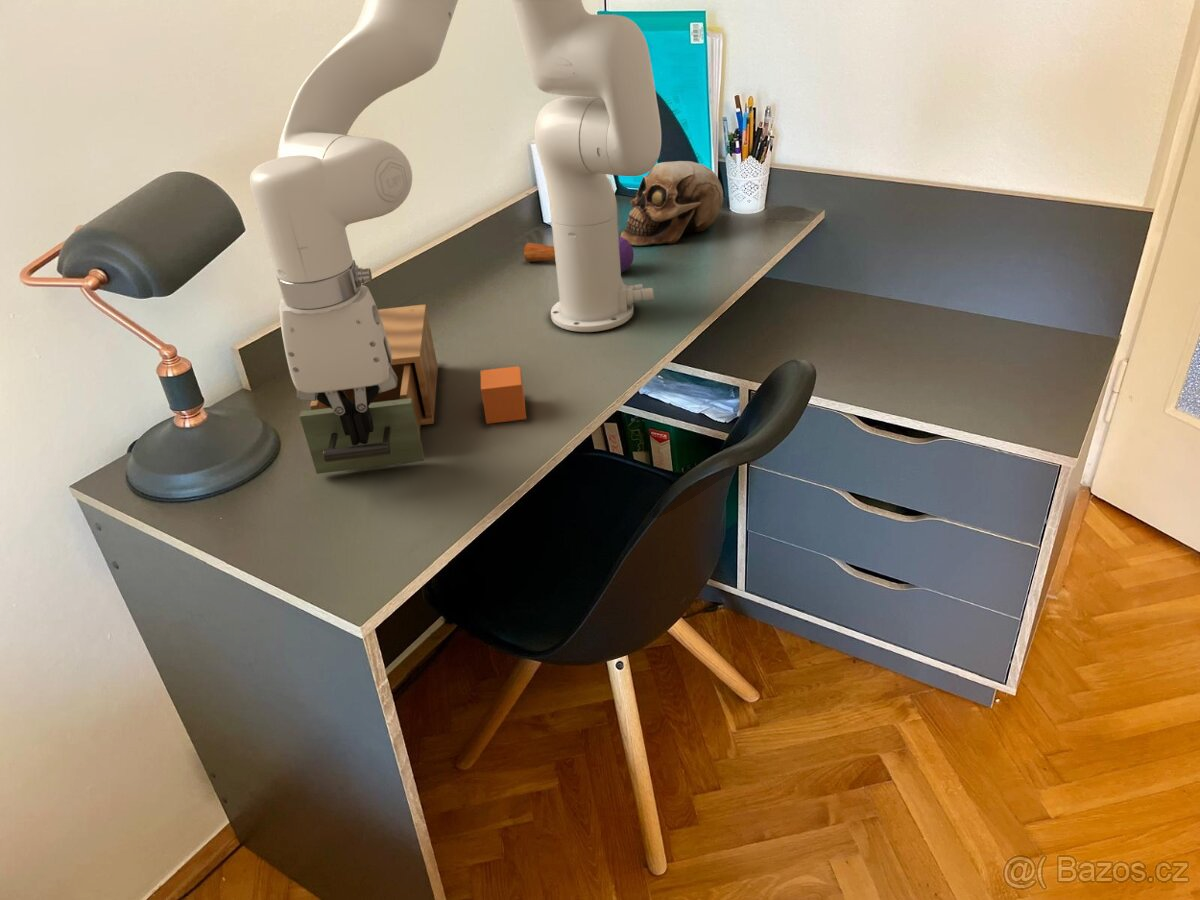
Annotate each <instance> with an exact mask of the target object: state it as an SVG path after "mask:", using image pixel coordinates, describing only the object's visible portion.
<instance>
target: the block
mask: <svg viewBox="0 0 1200 900" xmlns="http://www.w3.org/2000/svg"><path fill="white" fill-rule="evenodd" d="M480 392H481V398H482V404H483V411H484V417H485V423H486V424H487V425H489V424H490V425H491V424H497V423H506V422H513V421H521V420H527V412H526V411H527V410H526V400H525V393H524V385H523V379H522V371H521V366H520V365H517V366H509V367H501V368H500V367H499V368H491V369H483V370H480Z"/></svg>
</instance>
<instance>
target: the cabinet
mask: <svg viewBox="0 0 1200 900" xmlns="http://www.w3.org/2000/svg"><path fill="white" fill-rule="evenodd" d="M378 312H379V314H380V317H381V320H382V323H383V326H384V329H385V333H386V336H387V339H388V342H389V346H390V350H391V354H392V364H390V365H397V364H406V363H414V362H415V368H416V373H417V377H418V382H419V387H420V392H421V397H422V401H423V406H422V416H421V426H425V425H433V424H434V422H435V411H436V409H435V408H436V398H437V397H436V395H437V383H438V369H439V365H438V359H437V356H436V350H435V346H434V345H435V344H434V340H433V335H432V330H431V324H430V319H429V314H428V308H427V304H426V303H425V304H416V305H409V306H408V305H407V306H398V307H390V308H380V309H378Z"/></svg>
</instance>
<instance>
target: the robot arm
mask: <svg viewBox="0 0 1200 900" xmlns="http://www.w3.org/2000/svg"><path fill="white" fill-rule="evenodd" d="M458 2H459V0H364V2H363V6H362V9H361V12H360V14H359V17H358V19H357V21H356V24H355V25H354V27H353V28H352V29H351V30H350V31H349V32H348V33H347V34H346V35H345V36H344V37H343V38H342V39H341V40H339V41H338V43H336V45H334V46H333V47H332V49H331V50H330V51H329V52H328V53H326V55H325V57H324V58H323V59H321V61H320V62H318V64H317V65H316V66H315V67H314V68H313V70H312V71H311V72H310V73H309V74H308V76H307V77H306V78H305V79H304V81H303V82H302V84H301V86H300V87H299V88H298V91H297V92H296V94H295V97H294V99H293V101H292V104H291V106H290V109H289V112H288V115H287V118H286V119H285V120H286V121H285V122H284V126H283V129H282V133H281V135H280V139H279V142H278V147H277V153H276V158H274V159H269V160H267V161H264V162H262V163H261V164H259V165H257V166H256V167H254V168H253V170H252V171H251V173H250V176H249V189H250V192H251V196H252V199H253V203H254V206H255V209H256V213H257V216H258V219H259V222H260V226H261V228H262V229H261V230H262V232H263V235H264V239H265V242H266V245H267V248H268V253H269V255H270V259H271V262H272V265H273V269H274V272H275V275H276V280H277V283H278V286H279V290H280V293H281V296H282V298H281V299H280V301H279V306H278V308H279V320H280V329H281V335H282V337H281V338H282V341H283V347H284V352H285V353H284V354H285V357H286V362H287V366H288V370H289V375H290V378H291V380H292V383H293V385H294V387H295V389H296V398H297V399H298V400H300V401H309V402H312V401H319V402H321V403H323V404H324V405H326V406H328V407H330V408H331V409H333V411H334V413H335V414H337V415H339V416H340V420H341V423H342V427H343V430H344V434H345V435H346V436H347V435H350V438H351V442H352V445H358V443H362V444H367V443H368V437H369V433H370V432H373V421H372V417H371V414H370V410H369V405H370V403H371V402H372V401H373V400H374V398H375V397H376V396H377V395H378V393H381V392H385V391H388V390H391V389H394V388H396V387H397V382H398V378H397V376H396V374H395V372H394V370H393V368H392V367H391V365H390V364H392V354H391V350H390V346H389V342H388V339H387V336H386V333H385V329H384V326H383V323H382V320H381V317H380V314H379V312H378V310H379V309H378V306H377V304H376V301H375V300H374V297H373V296H372V293H371V291H370V289H369V287H368V286H366V285H364V284H365V283H369V282H370V283H371V282H373V277H372V276H373V275H372V270H371V268H370V267H368V268H366V267H365V268H363V267H359V266H358V264H356V260H355V259H353V255H352V251H351V246H350V243H349V239H348V234H347V231H346V228H347V226H348V225H351V224H355V223H356V224H357V223H359V222H364V221H368V220H373V219H376V218H380V217H383V216H386V215H388V214H391V213H393V212H394V211H396V209H398V208H399V207H400V206H402V204H403V203H404V202H405V201H406V200H407V198H408V196H409V194H410V192H411V190H412V184H413V172H412V171H413V170H412V166H411V163H410V161H409V159H408V157H407V156H406V155H405V154H404V152H403V151H402V150H401V149H400V148H399V147H397V146H396V145H394V144H393V143H391V142H388V141H386V140H383V139H380V138H376V137H375V138H374V137H366V136H357V135H349V134H348V133H349V131H350V129H351V128H352V126H353V125H354V123H355V121H356V120H357V118H358V117H359V116H360V115H361V114H362V113H363V111H364V110H365V109H366V108H368V107H369V106H370V105H371V104H372V103H373V102H375V101H376V100H378V99H380V98H381V97H383V96H384V95H386V94H388V93H390V92H392V91H395V90H397V89H398V88H401V87H403V86H405V85H407V84H409V83H411V82H413V81H414V80H417V79H418V78H420V77H421V76H424V75H425V74H427V73H429V71H431V70H432V69H433V68H434V67H435V66H436V65H437V63H438V61H439V59H440V55H441V52H442V49H443V46H444V43H445V41H446V37H447V34H448V32H449V29H450V25H451V24H452V23H451V22H452V20H453V17H454V13H455V11H456V7H457V4H458ZM509 3H510V6H511V9H512V12H513V16H514V20H515V23H516V28H517V33H518V36H519V39H520V43H521V47H522V51H523V54H524V59H525V62H526V66H527V69H528V72H529V74H530V77H531V79H532V82H533V84H534V85H535V86H536V88H538V89H539V91H542V92H544V93H547V94H550V95H557V96H564V97H559V98H554V99H553V100H550V101H549V102H547V103H546V104H545V105H544V106H543V107H542V108H541V109H540V111H539V112H538V115H537V117H536V120H535V124H534V141H535V147H536V149H537V150H536V151H537V155H538V157H539V161H540V164H541V166H542V170H543V173H544V179H545V182H546V187H547V195H548V201H549V210H550V211H549V212H550V221H551V230H552V240H553V246H554V251H555V269H556V279H557V280H556V281H557V288H558V289H557V290H558V298H559V300H558V301H557V302H556V303H555V304H554V305H553V306H552V307H551V309H550V318H551V321H552V323H553V324H554V325H556V326H557V327H559V328H561V329H563V330H566V331H571V332H577V333H594V332H602V331H607V330H611V329H614V328H617V327H620V326H622V325H624V324H626V323H627V322H628V321H629V320H630V319H631V318H633V315H634V303H637V302H642V303H643V302H644V303H645V302H651V301H652V302H653V301H654V300H655V295H654V289H653V287H646V288H643V287H644V286H643V284H642V283H639V284H633V285H628V284H625V283H624V281H623V278H622V272H621V269H620V253H619V237H620V236H619V224H618V223H619V222H618V205H617V204H618V203H617V197H616V193H615V191H614V187H613V186H612V184H611V181H610V180H609V178H608V176H607V175H609V176H619V177H639V176H643V175H646V174H647V173H649V172H650V171H651V169H652V168H653V167H654V166H655V165H657V163H658V160H659V158H660V154H661V149H662V125H661V124H662V123H661V118H660V110H659V106H658V105H659V103H658V99H657V92H656V86H655V85H656V84H655V79H654V73H653V67H652V61H651V55H650V50H649V46H648V43H647V40H646V37H645V35H644V34H643V32H642V30H641V28H640V27H639V26H638V25H637V23H636V22H635V21H633V20H632V19H630V18H628V17H627V16H623V15H618V14H592V13H590V12H588V11H587V10H586V9H585V7H584V3H583V1H582V0H509ZM353 388H354V394H355V403H353V402H352V401H350V399H348V396H347V394H346V392H345V390H346V389H353Z"/></svg>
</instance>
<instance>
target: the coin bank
mask: <svg viewBox="0 0 1200 900" xmlns="http://www.w3.org/2000/svg"><path fill="white" fill-rule="evenodd" d="M723 201H724V190H723V187H722V183H721V181H720V179H719V177H718V175H717V174H716V173H715V172H714V171H713V170H712V169H711V168H709V167H708V166H706V165H705V164H701V163H698V162H695V161H690V160H677V161H664V162H662V161H661V162H659V163H658V162H657V163H656V164H655V166H654V167H653V168H652V169H651V170H650V171H649V172H648V174H647V175H644V176H643V177H642V178H641V181H640V183H639V186H638V189H637V192H636V193H635V198H632V199H631V200H630V206H631V207H632V209H631V210H630V211H629V213H628V218H627V221H626V226H625V229H623V231H622V232H621V233H620V234H619V237H622V238H623V239H625V240H627V241H628V242H629V243H630V245H631V246H633V247H634V246H635V247H637V246H639V247H640V246H650V245H662V244H675V243H677V242H678V241H679V240H680V239H681V237H682V235H683V234H685V233H695V232H696V233H698V232H703V231H705V230H707V229H708V228H709V226H711V225H712V224H713V223H714V222H715V221H716V219H717V217H718V216H719V214H720V212H721V211H722V207H723Z"/></svg>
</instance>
